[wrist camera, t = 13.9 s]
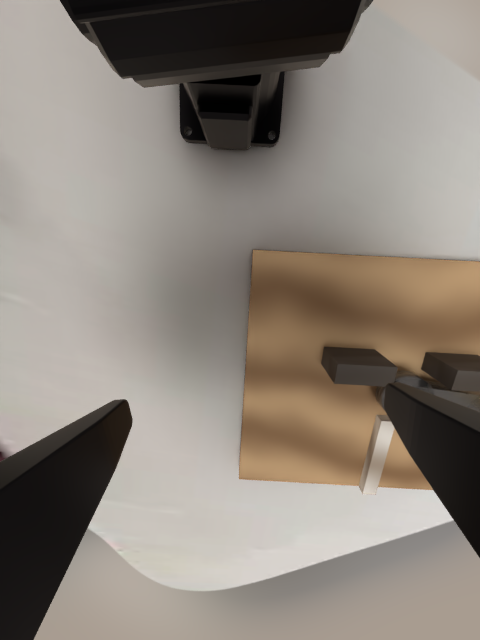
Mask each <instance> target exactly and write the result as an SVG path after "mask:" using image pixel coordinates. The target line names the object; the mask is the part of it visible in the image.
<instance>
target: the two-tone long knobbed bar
mask: <svg viewBox="0 0 480 640" xmlns="http://www.w3.org/2000/svg"><path fill="white" fill-rule="evenodd" d="M397 382H399V383H403V384H406V385H409V386H411V387H414V388H417V389H419V390H422V391H425V392H427V393H430V394H433V395H435V396H438V397H441V398H444V399H446V400H449V401H452V402H454V403H457V404H460V405H462V406H465V407H468V408H470V409H473V410H476V411H478V412H480V392H475V391H457V390H450V389H449V388H447V387H446V386H444V385H443V384H442V383H439V382H432V381H424V380H423V379H422V378H420V377H419V376H418V375H416V374H415V373H413V372H410V371H404V370H402V371H397V373H396V376H395V380H394V383H397ZM385 388H386V387H383V386H377V388H376V392H375V396H376V400H377V402H378V403H379V405H380V406H381V407H382V408H383V409H384V397H385ZM384 410H385V409H384ZM385 412H386V411H385Z"/></svg>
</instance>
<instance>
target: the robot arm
mask: <svg viewBox="0 0 480 640" xmlns="http://www.w3.org/2000/svg"><path fill="white" fill-rule="evenodd" d="M60 1H61V3H62V5H63V6H64V8H65V10H66V11H67V13H68V14H69V16H70V18H71V19H72V21H73V22H74V24H75V25H76V26H77V28H78V29H79V30H80V31H81V33H82V34H83V35H84V36H85V37H86V38H87V39H88V40H89V41H91V42H92V43H94V44H95V45H97V46H98V48H99V50H100V52H101V53H102V55H103V56H104V58H105V59H106V61H107V62H108V64H109V65H110V66H111V68H112V69H113V70H114V71H115V72H116V73H117V74H118V75H119V76H120V77H121V78H123V79H125V78H133V80H134V81H135V82H137V83H138V84H140V85H141V86H142V87H144V88H145V87H154V86H162V85H171V84H180V132H181V135H182V137H183V139H184V140H185V141H186V142H190V143H208V145H209V146H210V147H211V148H217V149H237V150H247V149H248V148H249V147H250V146H269V147H271V146H274V145H276V143H277V142H278V139H279V134H280V122H281V110H282V98H283V86H284V74H285V71H291V70H299V69H308V68H316V67H320V66H321V65H322V64H323V63H324V62H325V61H326V60H327V59H328V57H329V55H330V54H336V53H340V52H341V51H342V50H343V48H344V47H345V46H346V44H347V43H348V42H349V40H350V38H351V36H352V34H353V32H354V29H355V27H356V25H357V23H358V21H359V19H360V16H361V14H362V13H363V12H364V11H365V10H366V9H367V8H368V7H369V5H370V4H371V3H372V1H373V0H60ZM188 129H190V130H192V133H191V135H189V136H187V135H186V134H185V133H186V131H187V130H188ZM271 133H272V134H274V136H275V138H274V139H273V140H270V139H269V138H268V135H269V134H271ZM384 409H385V411H386V413H387V415H388V417H389V419H390V421H391V422H392V424H393V426H394V428H395V430H396V432H397V433H398V435H399V437H400V439H401V441H402V442H403V444H404V446H405V448H406V449H407V451H408V453H409V455H410V456H411V458H412V459H413V461H414V462H415V464H416V465H417V467H418V468H419V470H420V471H421V472H422V474H423V475H424V477H425V478H426V480H427V481H428V483H429V484H430V486H431V487H432V489H433V490H434V492H435V493H436V494H437V496H438V497H439V499H440V500H441V502H442V503H443V505H444V506H445V508H446V509H447V511H448V512H449V514H450V515H451V516H452V518H453V519H454V521H455V522H456V524H457V525H458V527H459V528H460V530H461V531H462V533H463V534H464V536H465V537H466V538H467V540H468V541H469V543H470V544H471V546H472V547H473V549H474V550H475V552H476V553H477V555H478V556H479V557H480V412H478V411H476V410H473V409H470V408H468V407H465V406H462V405H460V404H457V403H454V402H452V401H449V400H446V399H444V398H441V397H438V396H435V395H433V394H430V393H427V392H425V391H422V390H419V389H417V388H414V387H411V386H409V385H406V384H403V383H399V382H397V383H388V384H387V385H386V388H385V397H384ZM131 427H132V415H131V411H130V407H129V403H128V401H127V400H125V399H122V400H114V401H112V402H110V403H108V404H106V405H104V406H102V407H101V408H99V409H97V410H95V411H93V412H91V413H89V414H88V415H86V416H84V417H82V418H80V419H78V420H77V421H75V422H73V423H71V424H69V425H67V426H65V427H64V428H62V429H60V430H58V431H56V432H54V433H52V434H51V435H49V436H47V437H45V438H43V439H41V440H40V441H38V442H36V443H34V444H32V445H30V446H28V447H27V448H25V449H23V450H21V451H19V452H17V453H16V454H14V455H12V456H10V457H8V458H6V459H4V460H3V461H1V462H0V640H34V637H35V635H36V633H37V631H38V629H39V627H40V625H41V623H42V621H43V619H44V617H45V615H46V613H47V610H48V608H49V606H50V604H51V602H52V600H53V598H54V596H55V594H56V592H57V590H58V587H59V586H60V583H61V581H62V579H63V577H64V575H65V573H66V571H67V569H68V567H69V565H70V563H71V561H72V559H73V556H74V555H75V552H76V550H77V548H78V546H79V544H80V542H81V540H82V538H83V536H84V534H85V532H86V530H87V528H88V526H89V523H90V521H91V519H92V517H93V515H94V513H95V511H96V509H97V507H98V505H99V503H100V501H101V499H102V496H103V494H104V492H105V490H106V488H107V486H108V484H109V482H110V480H111V478H112V476H113V473H114V471H115V469H116V467H117V464H118V462H119V459H120V456H121V454H122V451H123V448H124V446H125V443H126V440H127V438H128V435H129V432H130V429H131Z"/></svg>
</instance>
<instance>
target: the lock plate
mask: <svg viewBox="0 0 480 640" xmlns="http://www.w3.org/2000/svg"><path fill="white" fill-rule="evenodd" d="M402 370H404V371H410V372H413V373H415V374H416V375H418V376H419V377H420V378H422V379H423V380H424V381H432V382H439V383H442V384H443V385H444V386H446V387H447V388H449V389H450V390H457V391H475V392H480V262H477V261H458V260H439V259H420V258H401V257H382V256H362V255H343V254H324V253H305V252H286V251H267V250H253V255H252V271H251V287H250V303H249V319H248V335H247V351H246V367H245V383H244V399H243V415H242V431H241V447H240V463H239V479H246V480H264V481H282V482H299V483H317V484H335V485H353V486H359V488H360V490H361V492H362V494H371V495H376V492H377V488H378V487H388V488H406V489H424V490H433V489H432V487H431V486H430V484H429V483H428V481H427V480H426V478H425V477H424V475H423V474H422V472H421V471H420V470H419V468H418V467H417V465H416V464H415V462H414V461H413V459H412V458H411V456H410V455H409V453H408V451H407V449H406V448H405V446H404V444H403V442H402V441H401V439H400V437H399V435H398V433H397V432H396V430H395V428H394V426H393V424H392V422H391V421H390V419H389V417H388V415H387V413H386V412H385V410H384V409H383V408H382V407H381V406H380V405H379V403H378V402H377V400H376V396H375V392H376V388H377V386H383V387H386V385H387V384H388V383H394V380H395V376H396V373H397V371H402Z"/></svg>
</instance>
